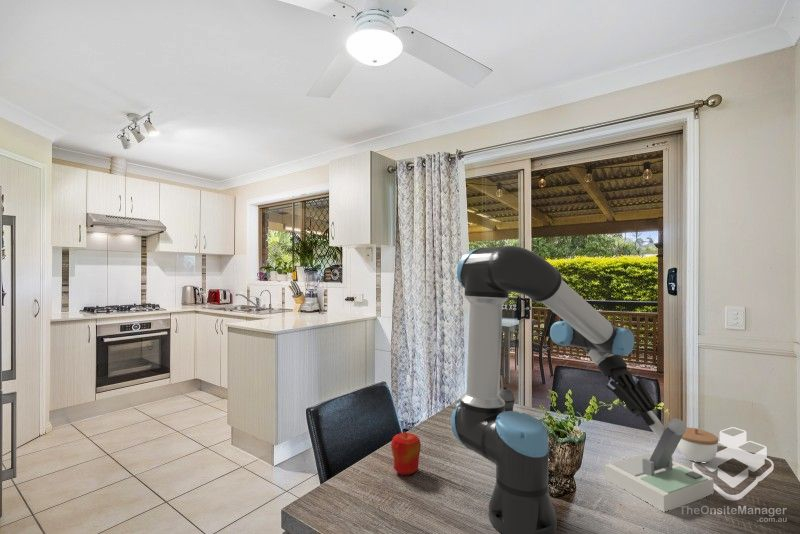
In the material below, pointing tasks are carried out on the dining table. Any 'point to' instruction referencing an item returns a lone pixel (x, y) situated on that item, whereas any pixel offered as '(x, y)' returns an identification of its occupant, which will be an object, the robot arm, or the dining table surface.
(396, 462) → the apple
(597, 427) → the dining table surface
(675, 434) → the toggle lever
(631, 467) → the switch box
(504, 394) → the beverage cup
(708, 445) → the lidded jar
